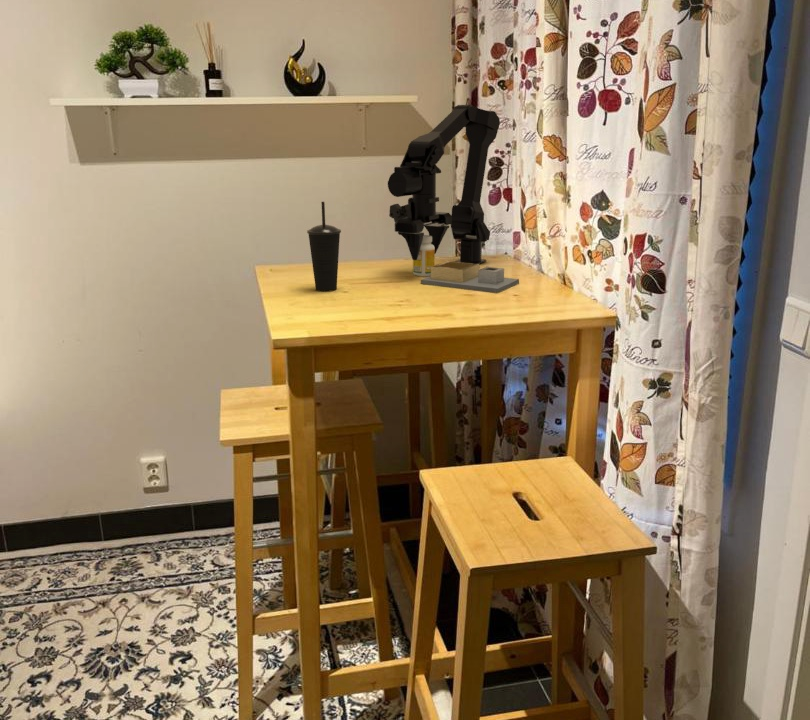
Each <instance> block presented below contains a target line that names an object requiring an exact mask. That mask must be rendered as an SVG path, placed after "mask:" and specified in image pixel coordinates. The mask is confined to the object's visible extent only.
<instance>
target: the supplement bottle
mask: <svg viewBox="0 0 810 720" xmlns="http://www.w3.org/2000/svg"><path fill="white" fill-rule="evenodd" d="M431 242H432V236H429V234H428V235H426V234H424V236H423V239H422V243H421V247H420V251H419V255H418V258H417V260H413V259H412V267H413V268H412V273H413V276H416V277H430V276H431V266H434V265H435V257H436V256H435V255H436V254H435V247H434V245H432V244H431Z"/></svg>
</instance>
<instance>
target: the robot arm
mask: <svg viewBox="0 0 810 720" xmlns="http://www.w3.org/2000/svg"><path fill="white" fill-rule="evenodd" d="M452 109H453V110H452V111H451V112H450V113H449V114H447V115H446V116H445V117H444V118H443V120H441V121H440V123H438V124H437V125H436V126H435V127H434V128H433V129H432V130H431V131H430V132H428V133H426V134H422V135H419V136H418V137H416V138H414V139H413V140H411V141H410V143H408V146H407V149H406V152H405V154H404V156H403V159H402V160H401V162H400V165H399V166H394V169H393V171H394V172H392V173H391V174H390V175H389V178H388V180H387V188H388V191H389V193H390V194H391V195H392V196H393V197H396V198H399V197H400V198H401V197H407V196H412V197H409V198H408V199H407V204H405V205H400V204H399V203H394V204H391V205H390V206H389V215H388V216H389V217H390V218H391V219H393V222H394V232H396V233H397V234H398V235H399V236H401V237H403V238H404V239H405V242H406V244H407V247H408V250H409V253H410V256H411V259H412V261H413V260H417V258H418V255H419V251H420V247H421V243H422V239H423V236H424V235H425V232H423V230H424V228H425V229H426V231H427V232H428V235H429V236H432V242H431V244H432V245H434V247H435V255H436V253H437V251H438V249H439V247H440V245H441V243H442V241H443V238H444V237H445V234H446V233H447V231H448V229H450V228H451V233H452V237H453V240H460V243H459V245H460V247H459V248H460V251H459V253H460V254H459V257H460V258H459V259H457V260H455V261H454V262H464V263H473V264H479V265H480V264H482V263H485V262H487V259H484V258H482V251H483V250H482V247H483V244H482V243H484V242H487V241H489V240H490V235H491V230H490V229H489V227H487V224H486V223H485V221H484V220H485V213H484V210H483V207H482V204H481V198H482V191H483V185H484V177H485V173H486V165H487V158H488V152H489V147H490V146H491V145H492V143H493V142H494V141H495V140H496V138H497V135H498V132H499V131H498V130H499V127H500V125H501V124H500V123H501V122H500V116H499V115H498V114H497V113H496V111H495V110H487V109H486V110H485V109H483V108H479V107H476V106H474V105H472V104H457V105H456V106H454V107H453V108H452ZM464 128H465V136H466V139H467V141H468V144H469V148H468V154H467V160H466V166H465V167H466V168H465V174H464V181H463V186H462V193H461V199H460V201H459V202H458V204H457V205H455V204H453V205H452V207H451V213H450V212H442V211H437V209H436V208H437V207H436V205H437V202H440V197H439V196H436V195H437V193H436V192H437V187H436V186H437V174H441V173H442V170H441V169H440V168H439V167H438V165H437V164H438V163H439V161H440V160H441V159H442V158H443V156H444V154H445V147H446V146H447V145H448V144H449V143H450V142H451V141H453V139H454V138H455V137H456V136H457V135H458V134H459V133H460V132H461V131H462V130H463V129H464Z"/></svg>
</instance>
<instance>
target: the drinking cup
mask: <svg viewBox="0 0 810 720" xmlns="http://www.w3.org/2000/svg"><path fill="white" fill-rule="evenodd" d="M325 205H326V204H325V201H321V224H319V225H314V226H312V228H308V230H306V231H307V232H306V233H307V235H308V241H309V247H310V248H309V249H310V255H311V261H312V271H313V272H312V273H313V278H314V279H313V280H314V285H315V287H314V288H315V291H318V292H334V291H336V290H337V288H338V270H339V253H340V252H339V251H340V238H341V237H340V236H341V235H340V234H341V233H342V229H340V228H338V227H335V226H333V225H329V224H326V209H325V208H326V207H325Z"/></svg>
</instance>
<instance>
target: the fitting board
mask: <svg viewBox="0 0 810 720" xmlns="http://www.w3.org/2000/svg"><path fill="white" fill-rule="evenodd" d="M420 284H421V285H428V286H435V287H436V286H437V287H443V288H444V287H445V288H452V289H461V290H467V291H469V290H470V291H476V292H477V291H478V292H485V293H492V294H493V293H494V294H499V293H501V292H503V291H505V290H508V289H509V288H512V287H514V286H516V285H519V284H520V279H519V278H512V277H504V281H503V282H501V283H498V284H496V285H495V284H486V283H478V277H476V278H474V279H471V280H469V281H466V282H463V283H460V282H451V281H443V280H434V279H431V276H426V277H423V278H422V279H420Z"/></svg>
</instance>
